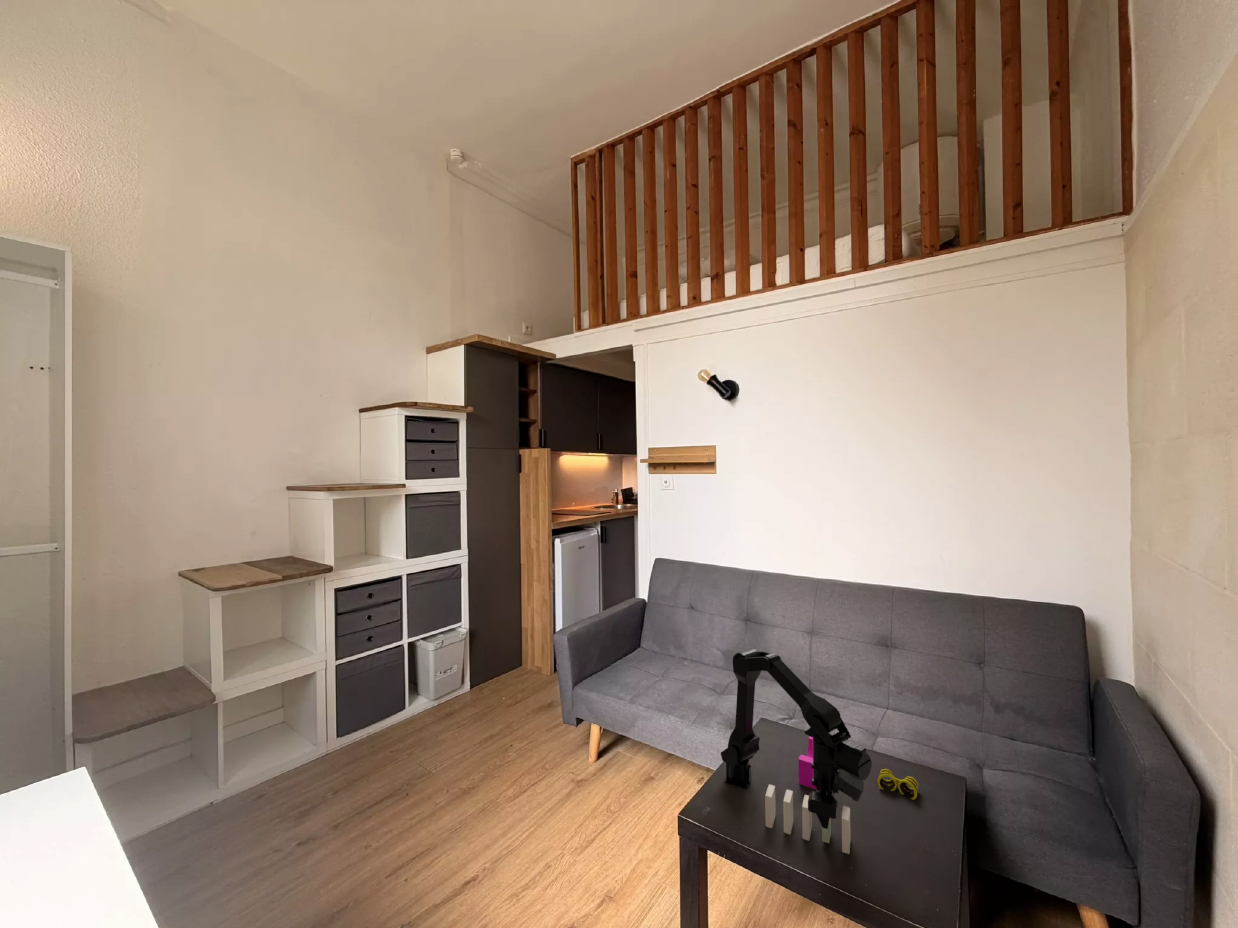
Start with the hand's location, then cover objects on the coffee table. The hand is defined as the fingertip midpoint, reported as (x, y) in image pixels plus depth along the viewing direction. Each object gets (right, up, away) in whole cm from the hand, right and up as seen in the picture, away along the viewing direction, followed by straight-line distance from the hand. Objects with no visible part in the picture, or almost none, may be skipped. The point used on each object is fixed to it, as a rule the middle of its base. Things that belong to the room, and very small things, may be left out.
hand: (826, 820), depth 121 cm
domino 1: (-12, -5, +6) cm, 14 cm away
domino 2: (-8, -5, +4) cm, 10 cm away
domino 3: (-4, -5, +2) cm, 6 cm away
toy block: (+8, -5, +26) cm, 27 cm away
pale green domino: (0, -4, 0) cm, 4 cm away
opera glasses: (+28, -5, +17) cm, 33 cm away
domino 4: (+4, -5, -2) cm, 6 cm away
